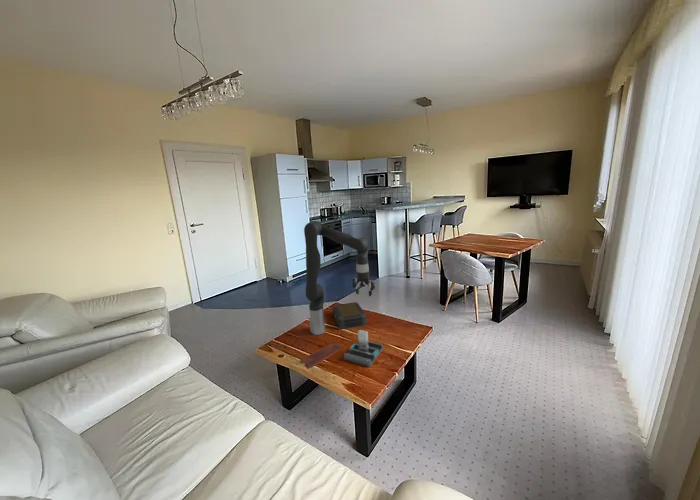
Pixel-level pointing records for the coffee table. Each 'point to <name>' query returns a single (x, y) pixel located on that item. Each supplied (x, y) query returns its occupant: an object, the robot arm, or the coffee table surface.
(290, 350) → the coffee table surface
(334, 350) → the wooden tablet
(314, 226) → the robot arm
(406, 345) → the coffee table surface
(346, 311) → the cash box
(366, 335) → the panel
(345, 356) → the rack
